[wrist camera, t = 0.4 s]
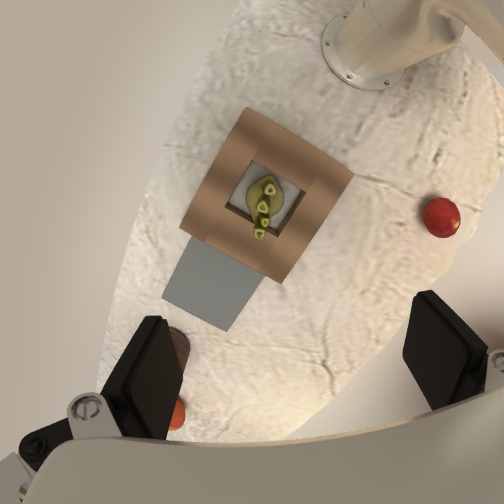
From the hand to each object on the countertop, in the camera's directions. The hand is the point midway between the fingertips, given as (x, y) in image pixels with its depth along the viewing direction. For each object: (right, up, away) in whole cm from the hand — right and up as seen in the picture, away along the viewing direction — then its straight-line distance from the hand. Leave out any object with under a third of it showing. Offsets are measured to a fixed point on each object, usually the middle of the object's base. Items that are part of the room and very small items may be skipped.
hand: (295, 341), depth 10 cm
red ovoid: (+26, +10, +29) cm, 40 cm away
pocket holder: (0, +11, +29) cm, 31 cm away
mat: (-8, -2, +34) cm, 35 cm away
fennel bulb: (0, +11, +30) cm, 32 cm away
